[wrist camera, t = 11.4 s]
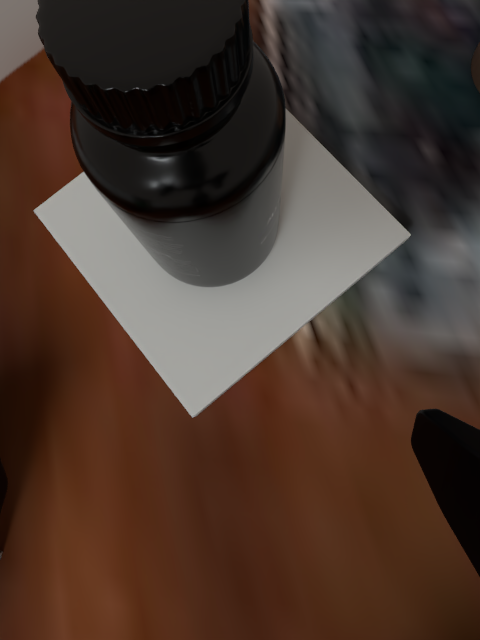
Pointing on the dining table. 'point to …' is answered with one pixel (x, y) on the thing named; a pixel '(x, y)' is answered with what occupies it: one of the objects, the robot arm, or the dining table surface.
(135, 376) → the dining table surface
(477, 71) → the tan rounded piece
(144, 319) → the pad
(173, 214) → the supplement bottle
